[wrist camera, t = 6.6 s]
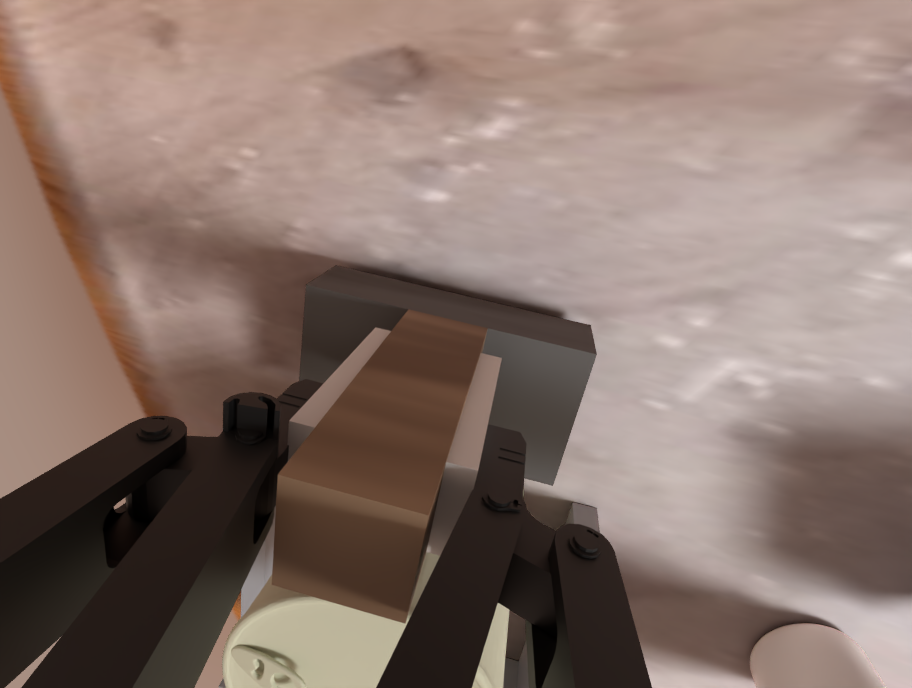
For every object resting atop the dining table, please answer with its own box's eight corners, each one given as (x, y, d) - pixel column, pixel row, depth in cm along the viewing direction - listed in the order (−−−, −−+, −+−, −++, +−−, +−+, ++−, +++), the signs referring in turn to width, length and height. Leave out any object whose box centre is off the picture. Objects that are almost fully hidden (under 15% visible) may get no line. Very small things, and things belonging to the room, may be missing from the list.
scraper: (336, 265, 22) (87, 422, 10) (590, 325, 21) (642, 573, 9) (324, 386, 24) (113, 626, 13) (552, 444, 24) (554, 761, 12)
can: (379, 372, 25) (240, 559, 14) (555, 450, 25) (557, 701, 14) (328, 509, 28) (188, 741, 17) (481, 576, 28) (436, 854, 17)
